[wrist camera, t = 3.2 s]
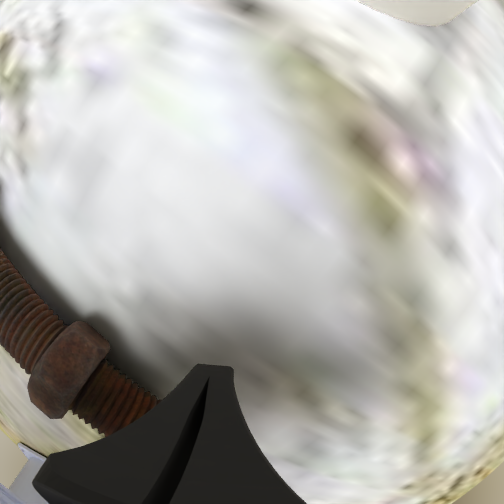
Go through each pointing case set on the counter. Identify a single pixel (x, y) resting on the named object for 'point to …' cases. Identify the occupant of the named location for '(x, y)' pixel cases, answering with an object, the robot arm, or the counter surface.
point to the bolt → (65, 361)
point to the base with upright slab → (421, 10)
